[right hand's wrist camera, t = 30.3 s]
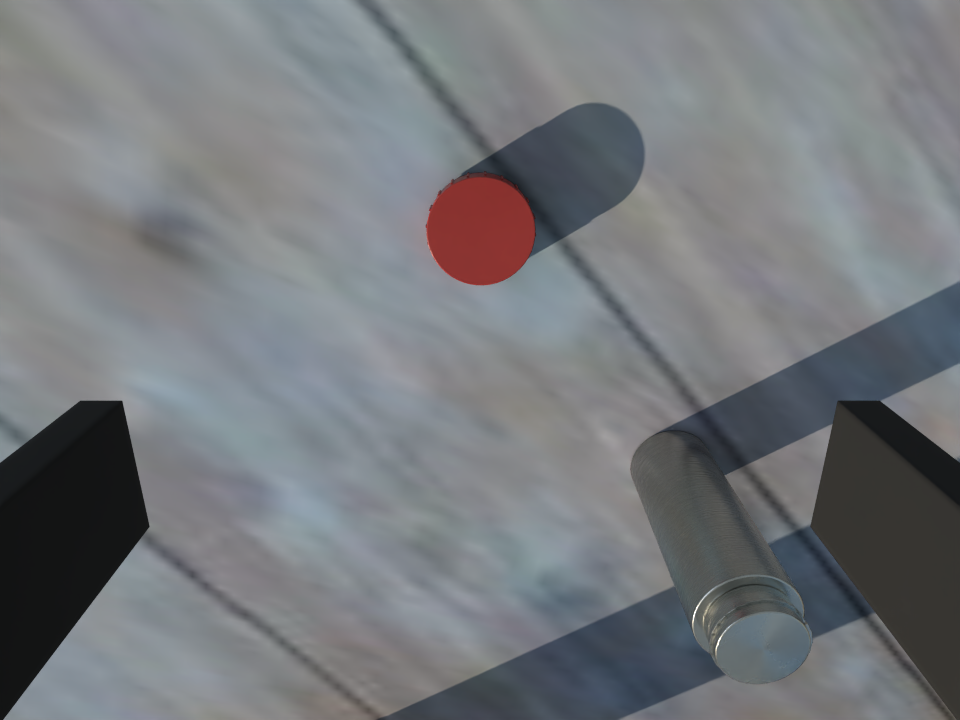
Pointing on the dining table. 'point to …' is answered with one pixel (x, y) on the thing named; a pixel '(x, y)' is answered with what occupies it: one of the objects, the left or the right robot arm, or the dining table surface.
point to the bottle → (720, 562)
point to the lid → (480, 229)
